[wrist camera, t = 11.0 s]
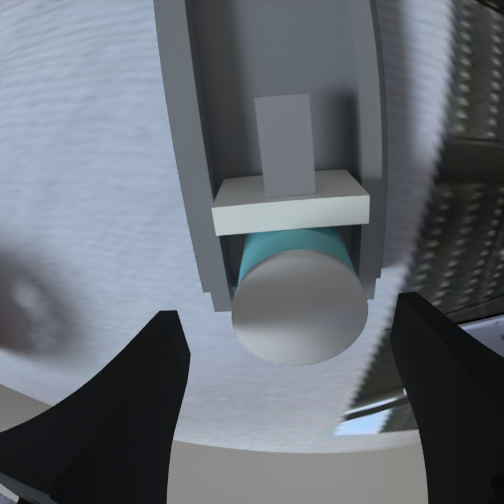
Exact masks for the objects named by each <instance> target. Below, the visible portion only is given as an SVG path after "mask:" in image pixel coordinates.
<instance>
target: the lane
mask: <svg viewBox="0 0 504 504" xmlns="http://www.w3.org/2000/svg"><path fill="white" fill-rule="evenodd" d="M153 2H154V12H155V21H156V30H157V38H158V46H159V54H160V62H161V69H162V76H163V83H164V90H165V97H166V104H167V110H168V116H169V123H170V129H171V135H172V141H173V146H174V152H175V158H176V163H177V169H178V174H179V180H180V185H181V190H182V195H183V200H184V206H185V211H186V215H187V220H188V225H189V230H190V235H191V240H192V244H193V249H194V253H195V258H196V262H197V267H198V271H199V276H200V280H201V284H202V289H203V293H205V292H211V297H212V301H213V306H214V310H215V312H223V311H232V308H233V302H234V297H235V292H236V289H237V286H238V280H239V274H240V268H241V262H242V256H243V250H244V244H245V238H246V233H242V234H231V235H220V236H216V232H215V227H214V221H213V215H212V209H211V208H212V205H213V203H214V201H215V198H216V196H217V194H218V191H219V189H220V187H221V185H222V182H223V180H224V179H229V178H238V177H248V176H258V175H263V171H262V162H261V153H260V144H259V135H258V127H257V118H256V109H255V101H254V97H262V96H274V95H286V94H303V93H308V94H309V104H310V115H311V128H312V141H313V156H314V171H322V170H339V169H346V170H347V171H348V172H349V173H350V174H351V175H352V177H353V178H354V179H355V180H356V181H357V182H358V183H359V184H360V185H361V186H362V187H363V188H364V190H365V191H366V192H367V193H368V194H369V195H370V203H369V223H367V224H354V225H340V226H337V228H338V231H339V233H340V236H341V238H342V240H343V243H344V245H345V248H346V250H347V253H348V255H349V258H350V260H351V263H352V265H353V268H354V270H355V273H356V274H357V276H358V278H359V280H360V282H361V285H362V287H363V290H364V292H365V295H366V298H367V300H368V299H374V293H375V284H376V278H380V276H381V267H382V256H383V244H384V231H385V214H386V190H387V125H386V101H385V85H384V72H383V61H382V51H381V42H380V34H379V27H378V19H377V13H376V6H375V0H153Z"/></svg>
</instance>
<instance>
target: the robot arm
mask: <svg viewBox="0 0 504 504" xmlns="http://www.w3.org/2000/svg"><path fill="white" fill-rule="evenodd" d="M390 343H391V347H392V352H393V356H394V360H395V363H396V367H397V369H398V372H399V375H400V377H401V380H402V383H403V385H404V390H403V392H404V394H405V395H407V396H408V399H409V401H410V404H411V407H412V410H413V412H414V415H415V418H416V422H417V425H418V429H419V434H420V439H421V444H422V449H423V455H424V461H425V469H426V477H427V488H428V504H504V314H503V315H499V316H495V317H491V318H487V319H483V320H478V321H474V322H469V323H464V324H460V325H457V324H456V323H454V322H453V321H452V320H451V319H449V318H448V317H447V316H446V315H444V314H443V313H442V312H441V311H439V310H438V309H437V308H436V307H435V306H433V305H432V304H431V303H430V302H428V301H427V300H426V299H424V298H423V297H422V296H421V295H419V294H418V293H416V292H408V293H399V294H398V300H397V305H396V311H395V316H394V321H393V326H392V331H391V336H390ZM190 356H191V354H190V351H189V347H188V344H187V341H186V338H185V335H184V332H183V329H182V325H181V322H180V319H179V315H178V312H177V310H171V311H159V312H158V313H157V314H156V315H155V316H154V317H153V318H152V319H151V320H150V321H149V322H148V323H147V324H146V326H145V327H144V328H143V329H142V330H141V331H140V332H139V333H138V334H137V335H136V336H135V337H134V338H133V339H132V340H131V341H130V343H129V344H128V345H127V346H126V347H125V348H124V349H123V350H122V351H121V352H120V353H119V354H118V355H117V356H116V357H115V358H114V359H112V360H111V361H110V362H109V363H108V364H107V365H106V366H105V367H104V368H103V369H102V370H101V371H100V372H99V373H98V374H96V375H95V376H94V377H93V378H92V379H91V380H89V381H88V382H87V383H86V384H84V385H83V386H82V387H81V388H79V389H78V390H77V391H75V392H74V393H72V394H71V395H70V396H68V397H67V398H65V399H64V400H62V401H61V402H59V403H58V404H56V405H55V406H53V407H52V408H50V409H48V410H47V411H45V412H43V413H41V414H40V415H38V416H36V417H34V418H32V419H30V420H28V421H26V422H24V423H22V424H20V425H17V426H15V427H13V428H10V429H8V430H6V431H3V432H0V483H1V484H2V485H3V486H5V487H6V488H7V489H9V490H10V491H11V492H13V493H14V494H16V495H17V496H19V500H18V502H17V503H16V502H14V501H13V500H11V499H9V498H8V497H6V496H4V495H2V494H1V493H0V504H166V502H167V484H168V472H169V462H170V453H171V446H172V441H173V436H174V431H175V428H176V424H177V420H178V416H179V412H180V408H181V404H182V400H183V397H184V393H185V389H186V385H187V381H188V373H189V365H190Z"/></svg>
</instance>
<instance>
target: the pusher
mask: <svg viewBox="0 0 504 504" xmlns="http://www.w3.org/2000/svg"><path fill="white" fill-rule="evenodd" d="M254 101H255V109H256V118H257V127H258V135H259V144H260V153H261V162H262V171H263V175H258V176H248V177H238V178H229V179H224V180H223V182H222V185H221V187H220V189H219V191H218V194H217V196H216V198H215V201H214V203H213V205H212V208H211V209H212V215H213V221H214V227H215V232H216V236H220V235H231V234H242V233H254V232H265V231H277V230H289V229H301V228H314V227H327V226H340V225H354V224H367V223H369V203H370V195H369V194H368V193H367V192H366V191H365V190H364V188H363V187H362V186H361V185H360V184H359V183H358V182H357V181H356V180H355V179H354V178H353V177H352V175H351V174H350V173H349V172H348V171H347V170H346V169H339V170H322V171H314V156H313V141H312V128H311V115H310V104H309V94H308V93H303V94H286V95H274V96H262V97H254Z"/></svg>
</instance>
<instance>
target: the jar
mask: <svg viewBox="0 0 504 504" xmlns="http://www.w3.org/2000/svg"><path fill="white" fill-rule="evenodd" d="M367 316H368V303H367V298H366V295H365V292H364V290H363V287H362V285H361V282H360V280H359V278H358V276H357V274H356V273H355V270H354V268H353V265H352V263H351V260H350V258H349V255H348V253H347V250H346V248H345V245H344V243H343V240H342V238H341V236H340V233H339V231H338V228H337V226H327V227H314V228H301V229H289V230H277V231H265V232H254V233H246V238H245V244H244V250H243V256H242V262H241V268H240V274H239V280H238V286H237V289H236V292H235V297H234V302H233V308H232V324H233V328H234V331H235V333H236V335H237V337H238V339H239V340H240V342H241V343H242V344H243V345H244V346H245V347H246V348H247V349H248V350H249V351H250V352H252V353H253V354H255V355H256V356H258V357H260V358H262V359H264V360H266V361H269V362H272V363H276V364H280V365H288V366H304V365H311V364H316V363H320V362H323V361H326V360H328V359H331V358H333V357H335V356H337V355H338V354H340V353H342V352H343V351H345V350H346V349H347V348H348V347H350V346H351V345H352V344H353V343H354V342H355V341H356V339H357V338H358V337H359V335H360V334H361V332H362V330H363V329H364V327H365V324H366V321H367Z"/></svg>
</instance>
